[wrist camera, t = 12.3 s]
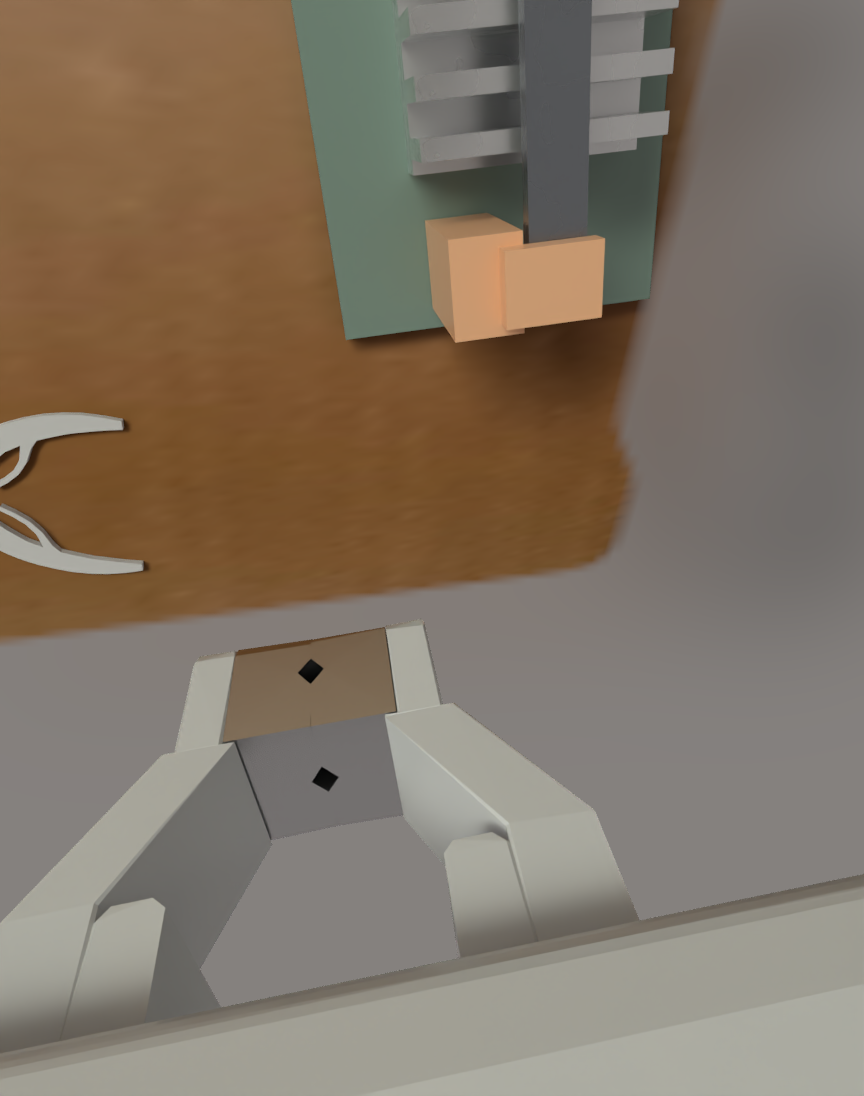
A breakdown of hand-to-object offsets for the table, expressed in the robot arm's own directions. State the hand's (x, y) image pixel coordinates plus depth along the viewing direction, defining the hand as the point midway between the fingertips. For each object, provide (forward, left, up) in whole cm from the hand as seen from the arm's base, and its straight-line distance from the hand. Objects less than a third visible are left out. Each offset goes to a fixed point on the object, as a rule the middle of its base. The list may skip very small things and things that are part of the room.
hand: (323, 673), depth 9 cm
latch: (0, +8, -28) cm, 29 cm away
